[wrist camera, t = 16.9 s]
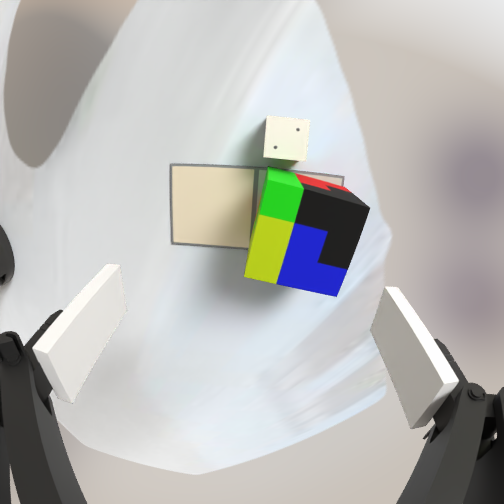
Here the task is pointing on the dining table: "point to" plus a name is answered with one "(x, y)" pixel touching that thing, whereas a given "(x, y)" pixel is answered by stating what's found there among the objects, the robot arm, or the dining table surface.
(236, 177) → the board
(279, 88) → the dining table surface
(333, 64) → the dining table surface
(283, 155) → the die
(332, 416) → the dining table surface
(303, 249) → the puzzle toy
